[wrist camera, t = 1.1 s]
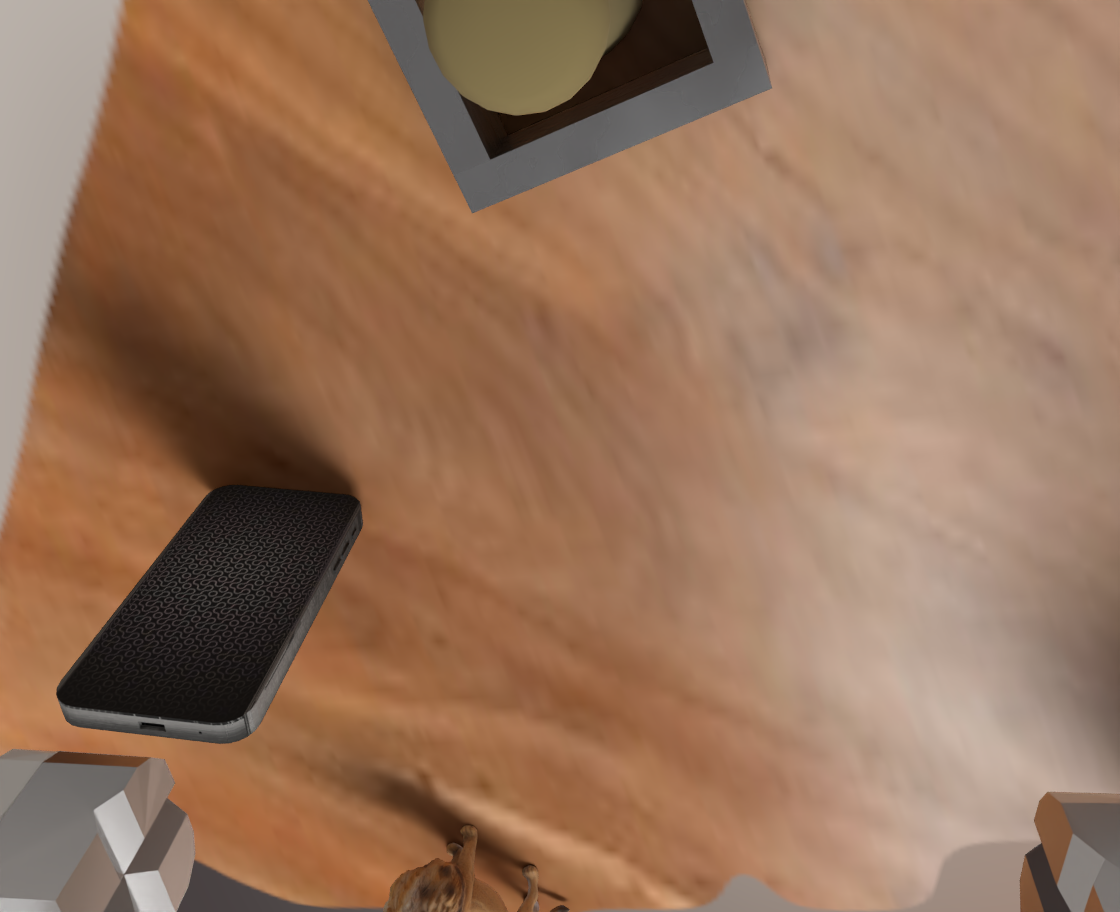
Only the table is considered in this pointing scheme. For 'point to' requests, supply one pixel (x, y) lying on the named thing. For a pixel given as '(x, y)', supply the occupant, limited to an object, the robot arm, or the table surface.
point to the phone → (215, 617)
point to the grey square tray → (583, 130)
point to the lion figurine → (456, 885)
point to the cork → (523, 47)
